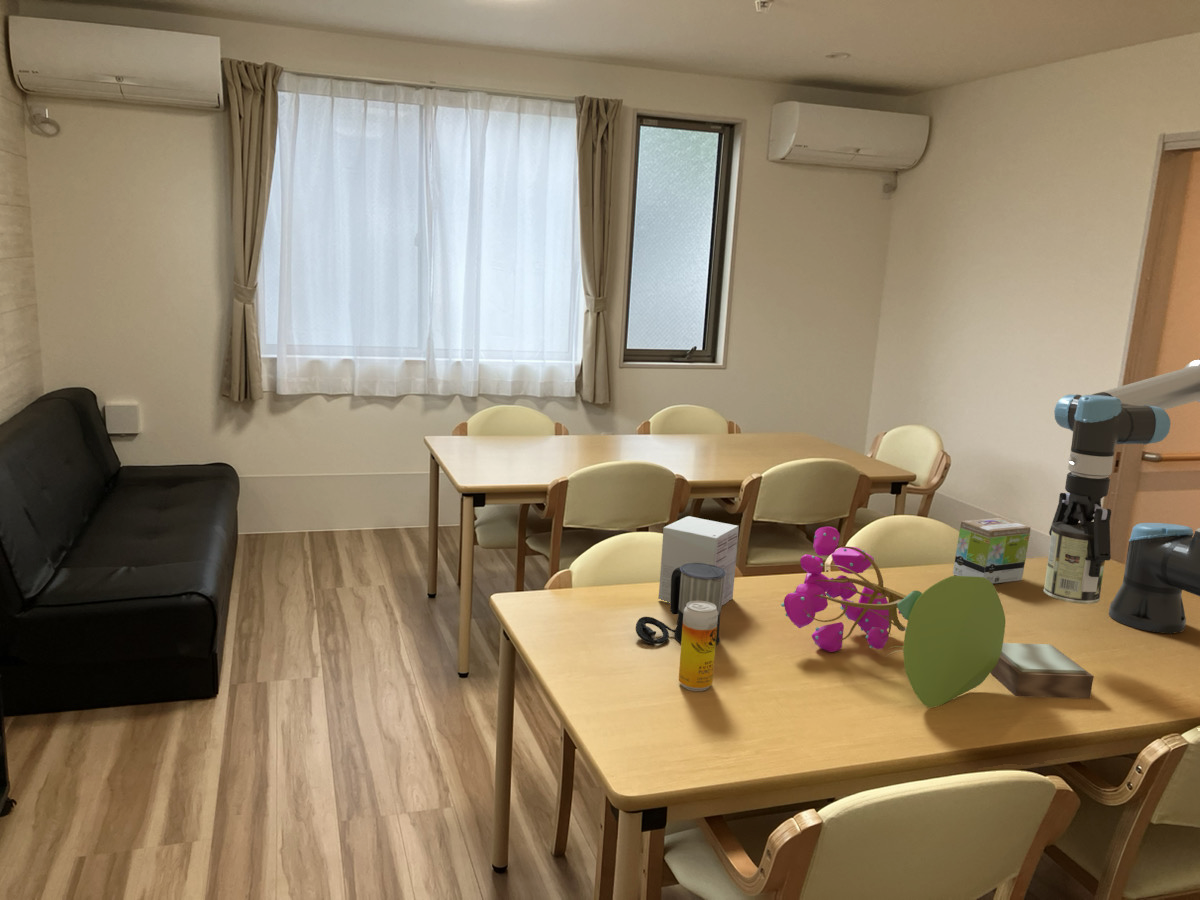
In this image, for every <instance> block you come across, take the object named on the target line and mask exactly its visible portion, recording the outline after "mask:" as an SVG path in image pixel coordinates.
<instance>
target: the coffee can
mask: <svg viewBox="0 0 1200 900" xmlns="http://www.w3.org/2000/svg"><path fill="white" fill-rule="evenodd" d="M1051 525H1052V533H1051V536H1050V543H1049V550H1048V559H1047V564H1046V571H1045V573H1046V574H1045V579H1044V588H1043V593H1044V594H1046V595H1047V596H1049V597H1051V598H1053V599H1056V600H1059V601H1062V602H1067V603H1072V604H1079V605H1081V604H1084V605H1090V604H1091V605H1092V604H1096V603H1099V602H1100V600H1101V598H1100V597H1101V592H1102V591H1101V590H1102V583H1103V577H1104V570H1105V563H1106V561H1102V562H1101V568H1100V575H1099V577H1098V583H1097V590H1096V592H1082V591H1081V584H1082V578H1083V571H1084V564H1085V558H1086V557H1088V551H1087V545H1088V539H1089V538H1091V539H1094V535H1088V534H1085V533H1084V528H1083V527H1082V526H1081V524H1080V521H1079V522H1078V524H1077V525H1073V524H1064V523H1063V522H1055V523H1053V524H1052V523H1051ZM1094 554H1095V553H1094Z"/></svg>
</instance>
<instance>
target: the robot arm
mask: <svg viewBox="0 0 1200 900" xmlns="http://www.w3.org/2000/svg"><path fill="white" fill-rule="evenodd" d="M1194 402H1197V403H1200V358H1199V359H1196V360H1192V361H1190V362H1188V363H1187V364H1186V365H1185V367H1183V368H1181V369H1177V370H1174V371H1170V372H1167V373H1162V374H1160V375H1156V376H1153V377H1149V378H1146V379H1142V380H1139V381H1136V382H1132V383H1129V384H1124V385H1121V386H1118V387H1114V388H1110V389H1107V390H1103V391H1100V392H1097V393H1092V394H1085V395H1081V394H1078V393H1077V394H1073V393H1072V394H1070V393H1069V394H1066V395H1063V396H1062V397H1061V398H1060V399H1059V400H1058V401H1057V402H1056V404H1055V406H1054V411H1053V412H1054V413H1053V414H1054V420H1055V422H1056V423H1057V425H1059V427H1061V428H1064V429H1068V430H1069V431H1071V432H1072V439H1071V445H1070V454H1069V457H1068V461H1069V462H1068V467H1067V468H1068V469H1067V470H1069V472H1068V473H1067V474H1066V478H1065V479H1066V480H1065V487H1064V489H1065V491H1066V492H1060V493H1059V498H1058V505H1057V507H1056V511H1055V514H1054V517H1053V520H1052V522H1051V526H1050V529H1049V531H1048V532H1049V533H1048V534H1049V537H1051V533H1052V524H1053V523H1055V522H1063V523H1064V524H1073V525H1077V524H1078V522H1079V523H1080V524H1081V526H1082V527H1083V528H1084V533H1085V534H1088V535H1094V539H1091V538H1089V539H1088V545H1087V551H1088V557H1086V558H1085V564H1084V571H1083V578H1082V584H1081V591H1082V592H1096V590H1097V583H1098V577H1099V575H1100V568H1101V562H1102V561H1105V562H1106V561H1110V560H1111V558H1112V557H1111V528H1110V525H1111V523H1110V522H1111V515H1112V509H1110V508H1103V507H1102V498H1105V497H1107V496H1108V494H1109V491H1110V490H1109V489H1110V483H1111V482H1110V481H1111V479H1110V477H1109V476H1110V475H1112V471H1113V464H1114V458H1115V457H1114V455H1115V450H1116V445H1151V444H1156V443H1159V442H1161V441H1162V442H1163V440H1164V439H1165V438H1167V436H1168V434H1169V433H1170V429H1171V419H1170V415H1169V414H1168V412H1167V411H1166V410H1169V409H1170V410H1171V409H1174V408H1176V407H1179V406H1180V407H1181V406H1183V405H1187V404H1190V403H1194ZM1129 537H1130V538H1129V539H1128V548H1127V553H1126V560H1125V565H1124V572H1123V573H1124V574H1123V578H1122V579H1123V580H1122V583H1121V586H1120V587H1119V588H1118V591H1117V592H1116V594H1115V595H1114V598H1113V600H1112V601H1111V602H1110V605H1109V609H1108V615H1109V617H1111V618H1112V619H1113V620H1115V621H1117V622H1118V623H1121V624H1123V625H1125V626H1127V627H1130V628H1131V627H1132V628H1135V629H1138V630H1142V631H1147V632H1151V631H1154V632H1153V633H1158V632H1163V633H1162V634H1175V633H1174V632H1179V633H1182V632H1184V631H1183V630H1185V629H1186V623H1187V619H1186V615H1185V614H1186V613H1185V608H1184V604H1183V603H1184V602H1183V599H1182V593H1183V592H1184V591H1185V592H1188V593H1189V594H1193V595H1195V596H1197V597H1200V527H1199V528H1195V532H1194V530H1193V528H1192V527H1190V526H1188V525H1181V524H1174V523H1162V522H1140V523H1137V524H1135V525H1134V526H1133V527H1132V530H1131V534H1130V536H1129ZM1094 553H1095V554H1094ZM1181 631H1182V632H1181Z"/></svg>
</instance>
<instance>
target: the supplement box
mask: <svg viewBox="0 0 1200 900" xmlns="http://www.w3.org/2000/svg"><path fill="white" fill-rule="evenodd" d="M662 530H663V531H662V544H661V547H662V548H661V557H660V558H661V561H660V571H659V572H660V573H659V588H658V599H661V600H664V601H667V602H670V603H671V576H672V573H673V571H674V570H675V569H676V568H678V567H681V566H682V565H684V564H688V563H706V564H711V565H715V566H718V567H720V568H722V569H724V570H725V572H726V575H725V576H724V584H723V595H722V604H721V607H723V606H724V605H725V604H727V603H729V602H730V601H731V600H732V598H734V588H735V575H736V563H737V551H738V541H739V530H740V529H739V525H735V524H731V523H725V522H721V521H720V522H719V521H715V520H711V519H710V520H709V519H704V518H699V517H695V516H690V515H688V516H685V517H683V518H680V519H679V520H677V521H674V522H671V523H670V524H667V525H666V526H664V527H663V528H662ZM658 599H657V600H658ZM729 600H730V601H729ZM722 605H723V606H722Z"/></svg>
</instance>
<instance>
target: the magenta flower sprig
mask: <svg viewBox="0 0 1200 900" xmlns="http://www.w3.org/2000/svg"><path fill="white" fill-rule="evenodd" d="M840 537H841V534H840V532H839V531H838V529H837V528H835V527H832V526H821V527H819V528H817V529H816V530H815V531H814V536H813V546H812V548H813V550H814V551H815V553H816V554H817V555H818V556H815V555H812V554H803V555H802V556H801V557H800V560H799V562H800V567H801V569H802V570H803V571H804V572H806V575H805V577H804V581H803V583H799V584H798V585H796V587H795V590H794V591H793V592H789V593H787V594H786V596H785V597H784V599H783V602H782V603H781V604H780V606H781V607H783V608H784V612H785V614H784V615H785V616H786V617H788V618H789V620H790V622H792V623H793V625H794V626H796V627H797V628H798V629H801V628H803V627H805V626H809V625H810V624H811V623H812V622H813V621H814V620H815V621H817V622H819V623H820V622H821V623H829V622H834V623H830V624H825V625H821V626H820V627H816V628H815V630H814V632H813V633H812V634H811V638H812V641H814V644H815V645H817V647H818V648H819V649H822V650H824V651H827V652H830V653H834V652H837V651H841V649H842V648H843V641H844V640H847V638H849V637H850V636H851V635H852V633H853V631H854V629H855V628H856V626H858V627H860V630H861V632H864V633H865V634H866V635H865V639H866V641H867V643H868V647H869V648H870V649H875V650H883V648H884V647H885V645H886V644H887V642H888V640H889V637H890V634H891V630H892V625H893V626H895V627H896V628H897V629H898V631H901V632H904V638H903V646H902V645H897V646H896V645H895V646H894V648H896V647H897V648H903V649H902V650H900V649H899V650H898V652H901V651H902V652H903V653H902V654H903V655H902V656H903V666H904V671H905V674H906V677H907V679H908V681H909V684H910V686H911V688H912V691H913V693H914V694H915V695H916V697H917V699H919V701H920V702H921V703H922V705H924V706H926V707H927V708H932V707H933V708H936V707H935V706H937V707H939V706H938V705H940V706H942V705H944V704H946V703H948V702H949V701H951V700H954V699H955V698H957V697H959V696H962V695H964V694H965V693H967V692H970V691H971V690H973V689H974V688H977V687H978V686H980V685H981V684H983V682H984V681H985V680H986V679H987V678H988V677H989V675H991V673H990V672H991V671H992V670H993V669H994V667H995V666H996V664H997V662H998V660H999V657H1000V655H1001V651H1002V646H1003V643H1004V640H1005V639H1004V638H1005V632H1006V631H1005V630H1006V629H1005V628H1006V615H1005V610H1004V608H1003V604H1002V602H1001V598H1000V595H999V594H998V591H997V590H996V587H995V586H994V584H992V583H991V582H990V581H989V580H988V579H986V578H984V577H973V576H956V575H951V576H948V577H946V578H944V579H942V580H940V581H938V582H936V583H934V584H933V585H931V586H929V588H927V589H926V590H925V591H924V592H921V591H920V590H912V591H910V593H908V594H907V595H905V594H903V593H900V592H898V591H896V590H894V589H892V588H888V587H885V586H884V579H883V575H882V573H881V571H880V569H879V566H878V564H877V563H876V562H875V557H874V556H872V555H871V554H869V553H867V552H866V551H865V550H862V549H861V548H859V547H857V546H838V545H839V542H840ZM830 555H831V558H832V561H833V563H834V564H831V565H830V564H829V565H827V567H836V568H837V569H839V570H840V571H842V573H845V574H849V575H855V576H857V577H858V578H860V579H858V578H852V577H851V578H850V577H848V576H846V575H843V574H840V575H838V576H836V578H833V577H828V576H826V575H824V573H823V570H824V559H823V558H822V557H821V556H823V557H825V556H830ZM819 556H820V557H819ZM871 566H872V567H873V569H874V571H875V575H876V577H877V583H878V584H877V583H874V582H871V581H870V580H868V579H866V578H865V577H864V576H863V575H861V574H863V573H864V572H865V571H866V570H868V568H869V567H871ZM856 585H858V586H861V587H863V588H862V591H861V592H860V591H859V590H858V588H857V587H856ZM856 594H859V595H860V597H859V599H858V602H855V601H854V600H850V599H851V598H852V597H853V596H855V595H856ZM838 597H840V598H841V599H837V598H838ZM828 601H831V602H834V603H837V604H840V605H841V606H840V610H843V611H842V613H840V615H838V616H837V617H835V618H831V619H827V620H821V619H817V618H816V617H815V616H816V614H817V613H819V612H822V611H824V610H826V609H827V608H828V605H829V603H828ZM898 614H900V615H902V617H903V618H904V620H906V621H907V622H906V623H907V624H906V626H905V625H904V624H902V623H901V622H900V620H899V617H898ZM843 616H846V618H847V619H848V620H850V621H853V622H854V623H853V625H852V626H851V628H850V630H849V632H848V634H847V635H846V636H845V637H844V627H845V625H844V623H843V622H842V621H841V622H839V621H838V622H835V621H836V620H839V619H840V618H841V617H843ZM891 648H893V646H891V647H888V648H887V649H891ZM894 652H895V653H896V652H897V650H895V651H893V652H891V653H889V654H887V656H888V655H891V654H893V653H894ZM887 656H886V657H887Z"/></svg>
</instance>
